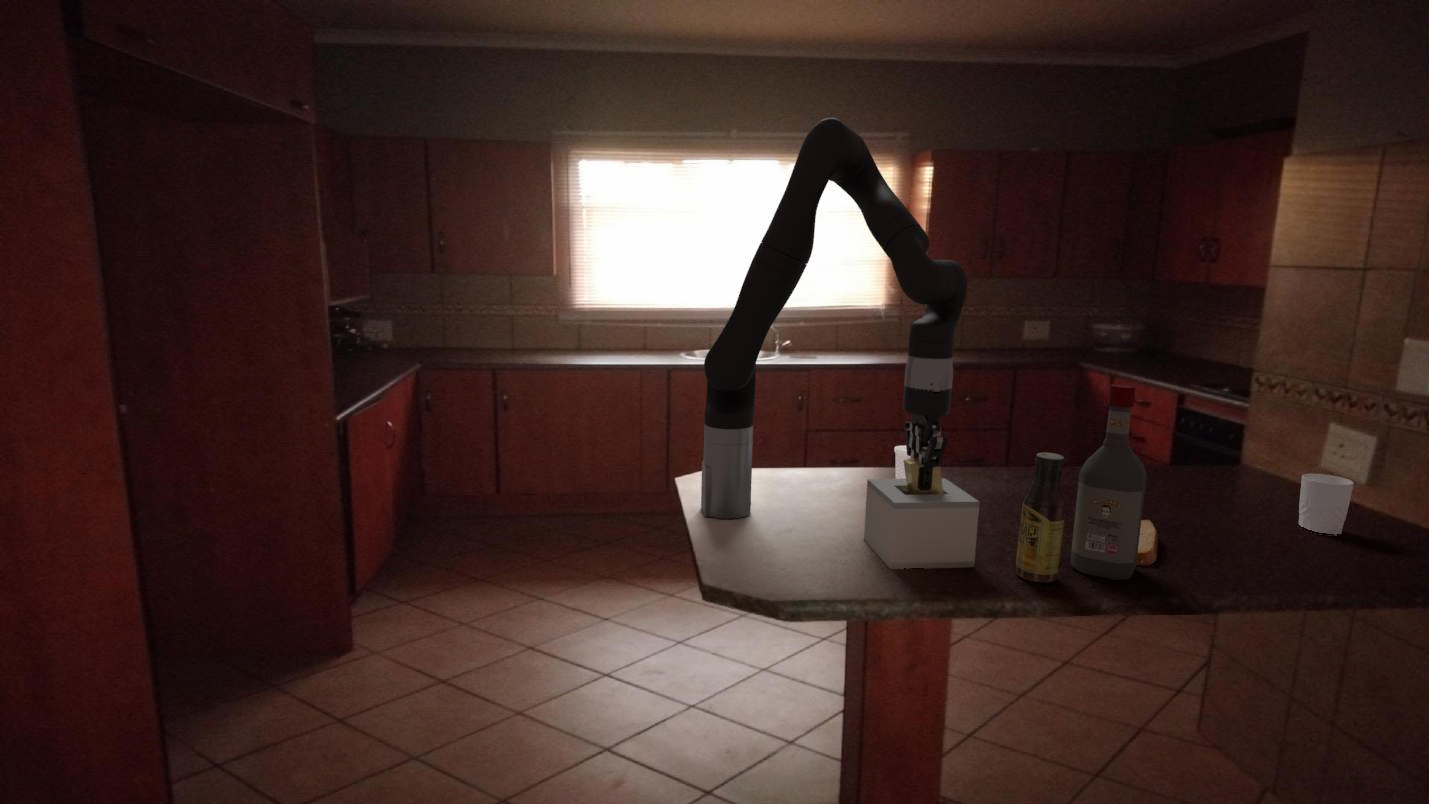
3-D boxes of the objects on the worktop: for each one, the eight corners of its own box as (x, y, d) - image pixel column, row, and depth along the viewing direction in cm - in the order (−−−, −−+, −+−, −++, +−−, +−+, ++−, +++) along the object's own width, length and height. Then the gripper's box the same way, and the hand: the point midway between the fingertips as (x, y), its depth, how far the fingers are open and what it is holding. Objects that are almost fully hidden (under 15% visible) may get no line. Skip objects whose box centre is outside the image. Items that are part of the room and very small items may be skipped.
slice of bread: (1136, 570, 136) (1139, 548, 135) (1050, 536, 152) (1052, 516, 151) (1209, 556, 143) (1212, 535, 143) (1120, 524, 159) (1122, 506, 159)
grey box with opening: (890, 569, 133) (894, 502, 131) (864, 539, 146) (867, 479, 144) (974, 567, 134) (979, 501, 133) (940, 538, 148) (944, 478, 146)
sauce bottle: (1008, 570, 134) (1018, 449, 130) (1045, 569, 134) (1057, 449, 131) (1026, 586, 127) (1038, 459, 124) (1065, 585, 128) (1078, 459, 124)
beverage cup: (923, 493, 176) (928, 428, 174) (894, 492, 176) (898, 428, 174) (917, 485, 182) (921, 423, 180) (889, 485, 182) (893, 422, 180)
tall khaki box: (915, 504, 137) (909, 464, 136) (908, 499, 140) (903, 459, 139) (944, 498, 138) (939, 457, 136) (936, 493, 141) (931, 453, 139)
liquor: (1130, 583, 129) (1152, 392, 124) (1067, 571, 134) (1086, 386, 129) (1136, 566, 137) (1157, 385, 131) (1077, 554, 141) (1095, 379, 136)
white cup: (1339, 527, 160) (1347, 476, 158) (1350, 539, 153) (1359, 486, 151) (1290, 521, 163) (1298, 471, 161) (1298, 532, 156) (1306, 481, 154)
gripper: (891, 377, 142) (885, 476, 145) (921, 391, 128) (914, 499, 131) (933, 377, 143) (927, 475, 146) (968, 391, 129) (959, 498, 132)
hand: (921, 486), depth 138 cm, fingers closed on tall khaki box, 2 cm apart
